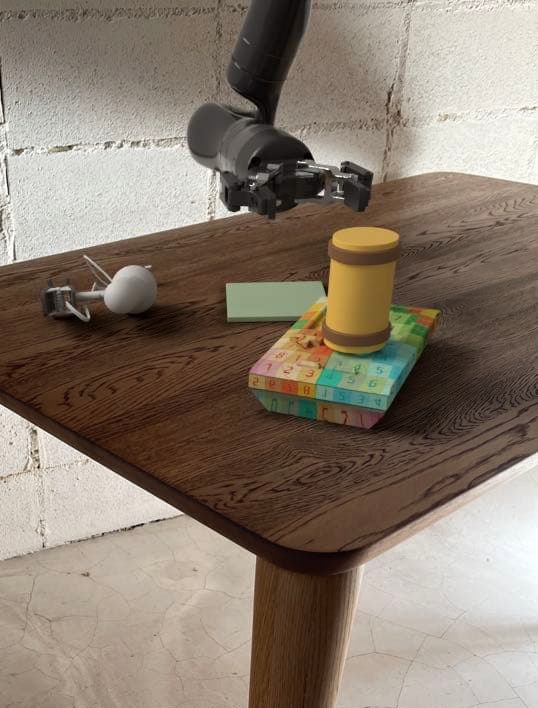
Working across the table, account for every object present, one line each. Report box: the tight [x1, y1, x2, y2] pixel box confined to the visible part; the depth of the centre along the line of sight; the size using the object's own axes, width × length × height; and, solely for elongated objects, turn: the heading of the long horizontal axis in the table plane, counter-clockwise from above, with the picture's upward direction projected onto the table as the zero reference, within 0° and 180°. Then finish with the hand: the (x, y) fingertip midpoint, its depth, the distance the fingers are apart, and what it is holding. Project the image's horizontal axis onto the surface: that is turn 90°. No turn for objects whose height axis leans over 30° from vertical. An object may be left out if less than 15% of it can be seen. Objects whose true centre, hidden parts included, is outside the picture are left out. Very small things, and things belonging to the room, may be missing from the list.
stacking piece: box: [321, 226, 403, 354], centre depth 73 cm, size 6×6×9 cm
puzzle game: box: [247, 296, 442, 430], centre depth 79 cm, size 12×5×20 cm
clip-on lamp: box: [40, 254, 158, 323], centre depth 96 cm, size 12×6×18 cm
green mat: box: [225, 280, 327, 323], centre depth 97 cm, size 11×11×1 cm
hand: (318, 204), depth 79 cm, fingers open, 8 cm apart
